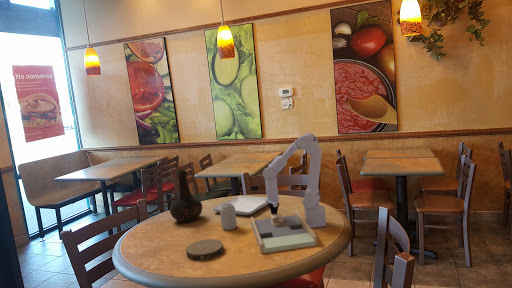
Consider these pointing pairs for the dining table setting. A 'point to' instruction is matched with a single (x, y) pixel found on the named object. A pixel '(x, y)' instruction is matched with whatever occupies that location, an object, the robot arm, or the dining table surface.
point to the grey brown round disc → (204, 249)
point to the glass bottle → (185, 202)
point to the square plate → (244, 204)
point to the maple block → (276, 219)
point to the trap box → (283, 234)
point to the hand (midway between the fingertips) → (274, 216)
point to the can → (228, 216)
